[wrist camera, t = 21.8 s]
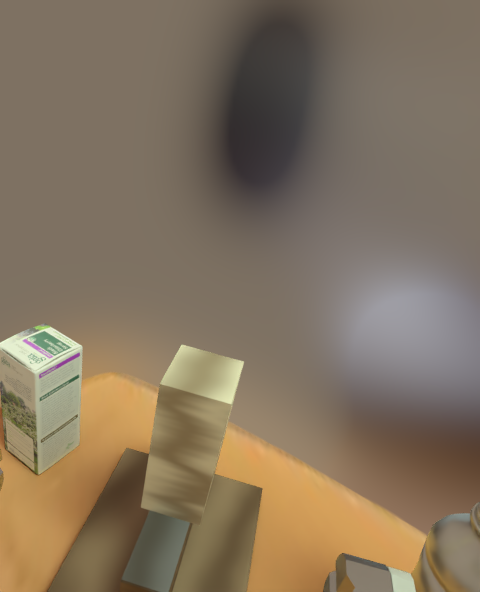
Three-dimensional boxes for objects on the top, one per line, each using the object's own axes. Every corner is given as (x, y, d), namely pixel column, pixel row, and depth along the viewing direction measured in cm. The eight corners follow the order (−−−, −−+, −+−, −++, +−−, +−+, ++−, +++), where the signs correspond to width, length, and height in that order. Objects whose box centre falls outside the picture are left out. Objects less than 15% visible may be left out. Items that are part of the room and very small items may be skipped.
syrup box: (81, 445, 49) (86, 343, 43) (36, 479, 44) (34, 369, 38) (48, 420, 51) (47, 319, 45) (1, 450, 47) (-7, 342, 40)
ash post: (214, 475, 39) (243, 361, 33) (199, 525, 34) (231, 404, 28) (161, 460, 39) (181, 344, 33) (140, 507, 34) (159, 383, 28)
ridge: (259, 497, 48) (278, 440, 44) (227, 698, 32) (253, 639, 28) (125, 456, 49) (132, 397, 45) (30, 632, 33) (27, 566, 29)
